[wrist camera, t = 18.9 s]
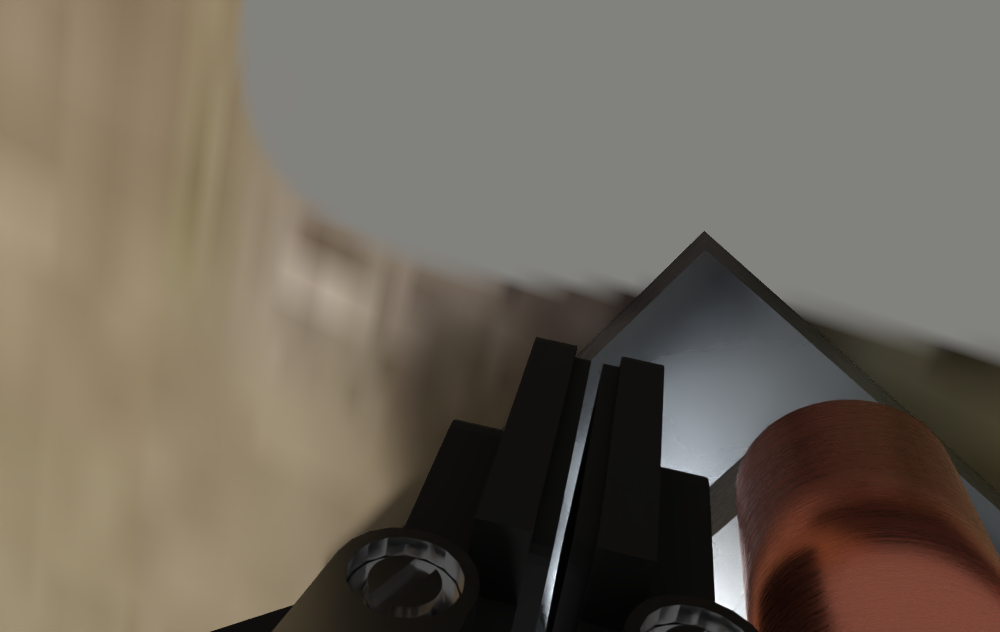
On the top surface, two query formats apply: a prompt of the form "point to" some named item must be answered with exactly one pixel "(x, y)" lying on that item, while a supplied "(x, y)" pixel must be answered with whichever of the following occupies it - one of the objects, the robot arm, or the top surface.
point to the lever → (851, 528)
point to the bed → (727, 374)
